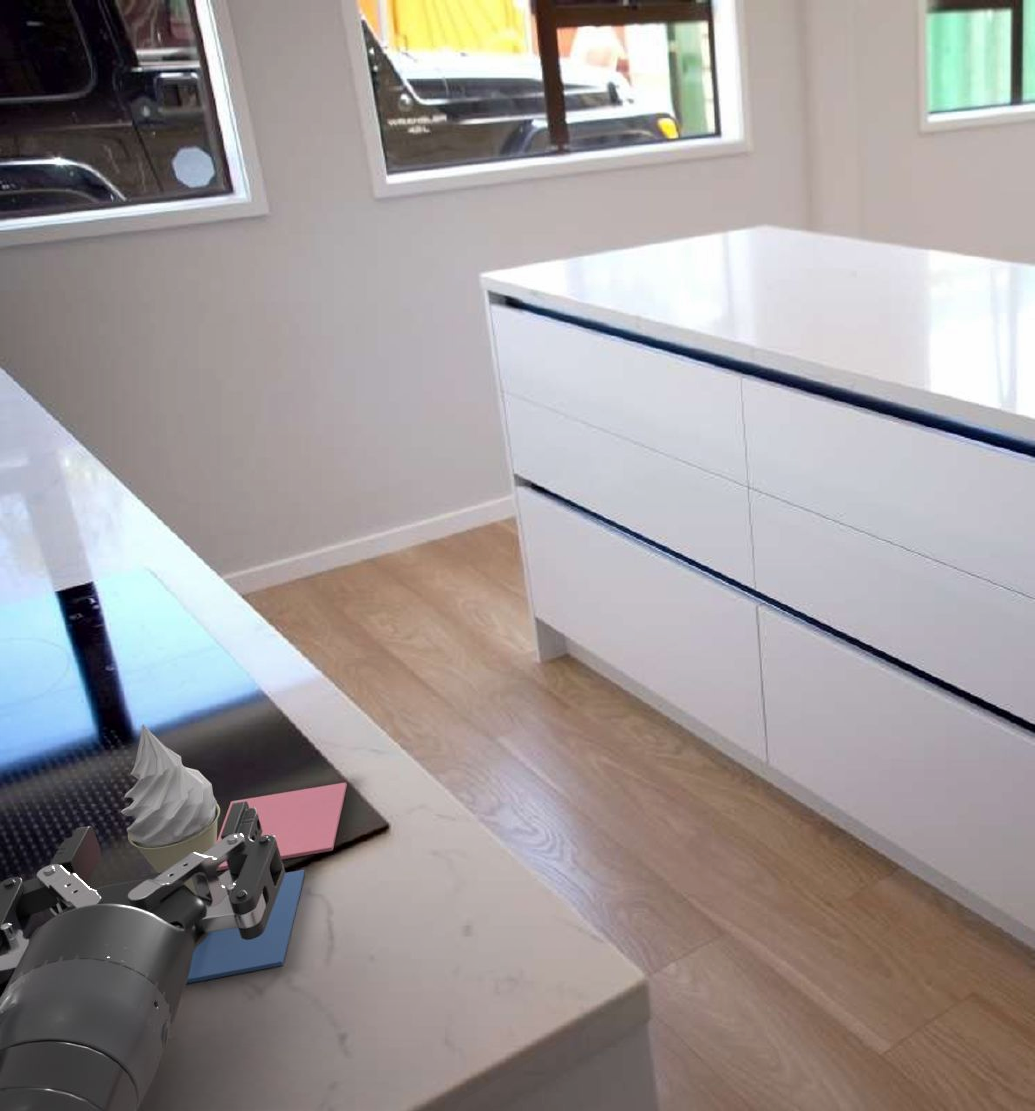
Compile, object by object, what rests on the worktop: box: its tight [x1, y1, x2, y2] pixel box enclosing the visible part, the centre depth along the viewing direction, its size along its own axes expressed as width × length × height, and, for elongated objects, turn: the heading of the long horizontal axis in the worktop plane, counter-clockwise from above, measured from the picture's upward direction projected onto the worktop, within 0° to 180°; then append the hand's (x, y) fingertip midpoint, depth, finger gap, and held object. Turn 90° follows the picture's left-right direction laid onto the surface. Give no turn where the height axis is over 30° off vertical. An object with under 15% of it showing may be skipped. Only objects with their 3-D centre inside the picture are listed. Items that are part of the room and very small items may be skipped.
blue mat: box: [186, 869, 306, 984], centre depth 79 cm, size 10×9×1 cm
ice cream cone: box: [120, 723, 221, 895], centre depth 76 cm, size 5×5×15 cm
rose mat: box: [216, 781, 348, 872], centre depth 89 cm, size 8×8×1 cm
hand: (167, 826), depth 74 cm, fingers open, 8 cm apart
